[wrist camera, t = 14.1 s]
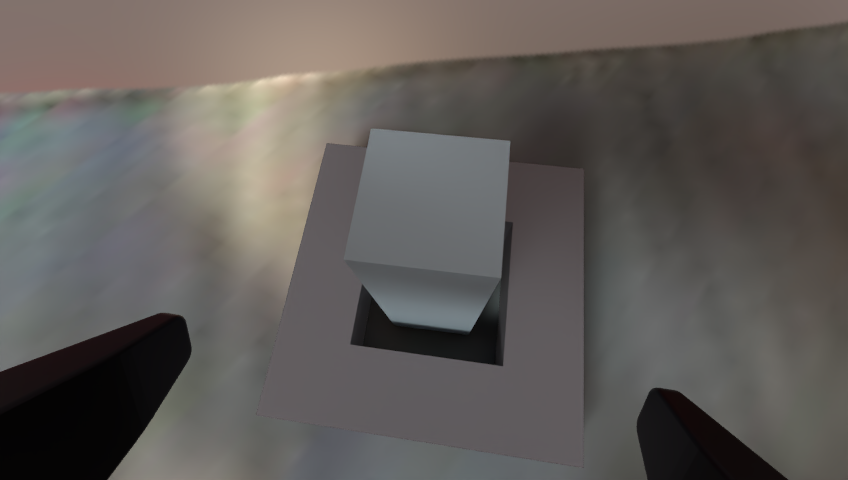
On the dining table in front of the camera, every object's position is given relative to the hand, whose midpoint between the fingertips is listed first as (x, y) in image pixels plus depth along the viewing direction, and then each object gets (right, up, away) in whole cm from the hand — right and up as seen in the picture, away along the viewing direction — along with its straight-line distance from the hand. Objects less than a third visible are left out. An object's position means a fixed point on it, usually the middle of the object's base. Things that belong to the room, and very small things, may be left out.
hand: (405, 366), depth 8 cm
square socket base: (+1, -1, +14) cm, 14 cm away
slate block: (+1, -1, +14) cm, 14 cm away
